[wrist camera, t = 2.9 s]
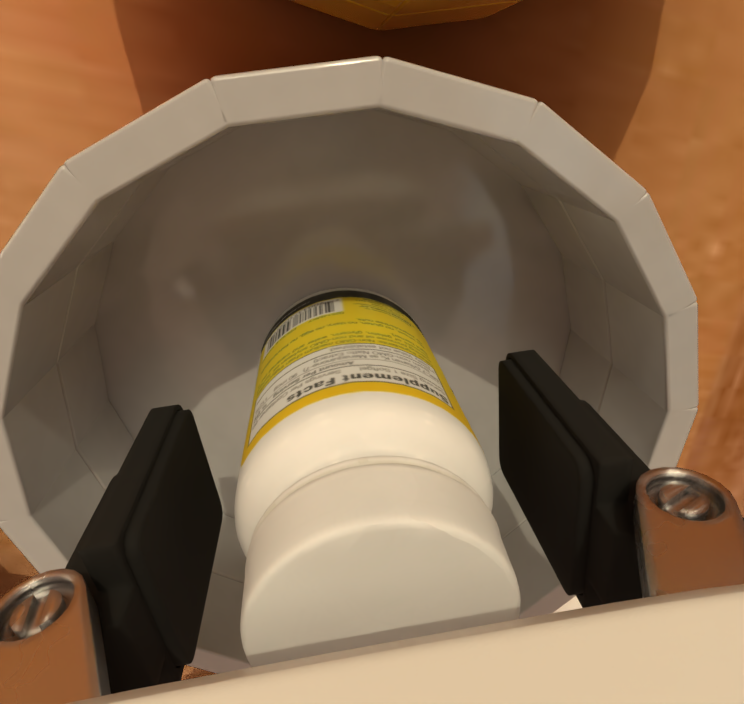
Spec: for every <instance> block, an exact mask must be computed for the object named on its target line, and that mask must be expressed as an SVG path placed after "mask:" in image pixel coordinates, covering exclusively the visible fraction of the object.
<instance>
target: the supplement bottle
mask: <svg viewBox="0 0 744 704" xmlns="http://www.w3.org/2000/svg"><path fill="white" fill-rule="evenodd" d="M492 508H493V484H492V478H491V474H490V470H489V467H488V463H487V460H486V457H485V454H484V452H483V450H482V448H481V446H480V444H479V442H478V440H477V438H476V436H475V434H474V432H473V430H472V429H471V427H470V424H469V422H468V420H467V419H466V417H465V415H464V413H463V411H462V409H461V407H460V405H459V403H458V401H457V400H456V398H455V396H454V393H453V391H452V389H451V388H450V386H449V384H448V382H447V380H446V378H445V376H444V374H443V372H442V370H441V368H440V366H439V364H438V362H437V360H436V358H435V357H434V355H433V353H432V351H431V349H430V347H429V345H428V343H427V341H426V339H425V337H424V336H423V334H422V332H421V330H420V328H419V327H418V325H417V323H416V322H415V321H414V319H413V318H412V317H411V316H410V315H409V314H408V312H407V311H406V310H404V309H403V308H402V307H401V306H400V305H398V304H397V303H396V302H394V301H392V300H391V299H389V298H387V297H385V296H383V295H381V294H379V293H376V292H373V291H369V290H364V289H359V288H335V289H328V290H323V291H319V292H316V293H313V294H311V295H308V296H306V297H304V298H302V299H300V300H299V301H297V302H296V303H294V304H293V305H291V306H290V307H289V308H288V309H286V310H285V311H284V312H283V313H282V314H281V315H280V316H279V317H278V318H277V320H276V321H275V322H274V324H273V325H272V327H271V328H270V330H269V331H268V333H267V335H266V338H265V340H264V342H263V345H262V349H261V352H260V358H259V364H258V370H257V376H256V381H255V387H254V393H253V398H252V404H251V411H250V416H249V421H248V426H247V432H246V438H245V444H244V449H243V455H242V460H241V466H240V471H239V477H238V482H237V488H236V494H235V504H234V515H235V528H236V532H237V537H238V540H239V543H240V546H241V548H242V550H243V553H244V555H245V556H246V565H245V579H244V589H243V598H242V608H241V619H240V633H241V640H242V645H243V649H244V652H245V654H246V657H247V659H248V661H249V663H250V665H251V667H256V666H262V665H267V664H272V663H278V662H283V661H289V660H294V659H300V658H305V657H311V656H316V655H322V654H327V653H333V652H338V651H344V650H349V649H355V648H360V647H366V646H371V645H377V644H382V643H388V642H393V641H399V640H404V639H410V638H415V637H421V636H427V635H432V634H438V633H443V632H449V631H454V630H460V629H466V628H471V627H477V626H483V625H488V624H494V623H500V622H505V621H511V620H517V619H519V613H520V601H521V599H520V590H519V586H518V581H517V578H516V575H515V572H514V569H513V567H512V564H511V562H510V560H509V557H508V555H507V552H506V549H505V547H504V544H503V541H502V539H501V535H500V530H499V527H498V525H497V522H496V520H495V518H494V516H493V515H492V513H491V512H492Z"/></svg>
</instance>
